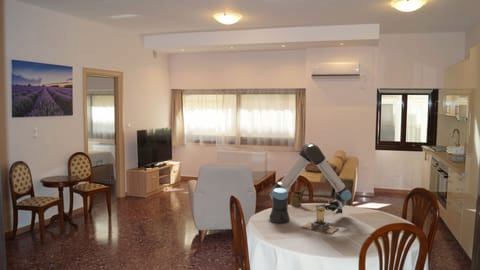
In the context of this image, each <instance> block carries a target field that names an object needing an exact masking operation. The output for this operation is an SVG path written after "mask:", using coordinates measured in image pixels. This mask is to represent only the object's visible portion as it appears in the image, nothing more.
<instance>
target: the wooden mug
mask: <svg viewBox="0 0 480 270" xmlns="http://www.w3.org/2000/svg"><path fill="white" fill-rule="evenodd" d="M305 189H306V185H304V186H302V187H301V189H299V191H298V190H293V191H292V192H291V198H290V202H289V205H290V206H294V207H297V206H301V205H302V204H301V203H302V202H301V200H302V199H303V196H304V193H303V191H304V190H305Z"/></svg>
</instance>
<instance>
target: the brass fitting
mask: <svg viewBox="0 0 480 270" xmlns="http://www.w3.org/2000/svg"><path fill="white" fill-rule="evenodd" d="M316 209H317V212H316V220H317V222H316V224H320V225H324V222H325V211H326V209H325V207H321V206H318V207H316V206H315V210H316Z"/></svg>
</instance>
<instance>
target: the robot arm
mask: <svg viewBox="0 0 480 270" xmlns="http://www.w3.org/2000/svg"><path fill="white" fill-rule="evenodd" d="M326 158H327V157H326V156H325V155H324V153H323V152H322V150H321V148H320V147H319V146H318V145H316V144H314V143H312V142H307V143H305V144H303V146H302V147H301V150H300V151H299V153H298V157H297V158H296V160H295V162H294V163H293V164H292V165H291V167H290V168H289V170H288V171H287V172H286V173H285V175H284V176H283V178H282V179H281V180H280V181H277V182H276V184H275V185H273V187H271V188H270V190H269V197H270V199H271V202H272V203H271V212H270V214H269V217H268V218H269V219H268V220H269V221H270V222H271V223H274V224H287V223H289V222H290V220H291V219H290V214H289V211H288V208H289V207H288V206H289V193H290V189H291V187H292V185H293V184H294V183H295V181H297V179H298V178H299V176H300V174H301V173H302V172H303V171H304V169H305V168H306V167H307V166H308V164H313V165H314V166H317V168H318V169H319V170H320V172H321V173H322V174H323V176H324V177H325V178H326V180H327V181H328V182H329V184H330V185H331V186H332V187H333V189H334V200H332V201H331V202H329V204H326V203H324V204H318V205H315V213H317V209H316V207H318V206H321V207H325V211H326V210H327V211H331V212H333V216H337V214H343V208H344V207H345V206H346V204H347V201H349V200H351V198H352V193H351V191H350V190H349V189H348V188H347V187H346V184H345V183H344V182H343V181H342V180H341V179H340V177H339V176H338V175H337V173H336V172H335V171H334V169H333V168H332V167H331V165H330V163H329V162H328V161H327V159H326Z"/></svg>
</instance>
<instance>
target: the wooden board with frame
mask: <svg viewBox="0 0 480 270" xmlns="http://www.w3.org/2000/svg"><path fill="white" fill-rule="evenodd" d="M316 222H317V219H315V220H314V221H313V222H311V221H309V222H307V223H306V224H304V225H302V226H301V229H303V230H308V231H314V232H319V233H323V234H329V235H333V234H334V233H336V232H337V231H338V230H339V229H340V228H339V226H333V225H330V222H327V221H324V225H320V224H316Z"/></svg>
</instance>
